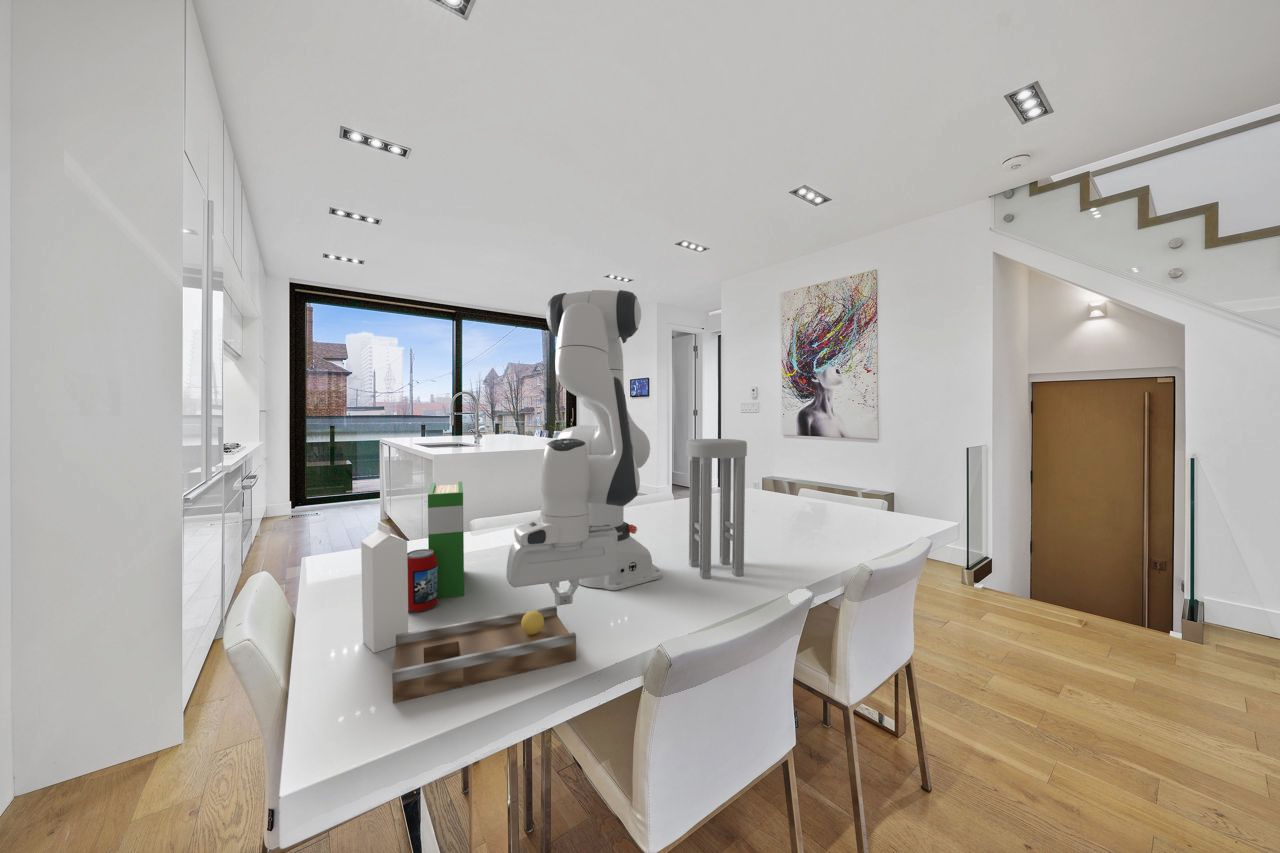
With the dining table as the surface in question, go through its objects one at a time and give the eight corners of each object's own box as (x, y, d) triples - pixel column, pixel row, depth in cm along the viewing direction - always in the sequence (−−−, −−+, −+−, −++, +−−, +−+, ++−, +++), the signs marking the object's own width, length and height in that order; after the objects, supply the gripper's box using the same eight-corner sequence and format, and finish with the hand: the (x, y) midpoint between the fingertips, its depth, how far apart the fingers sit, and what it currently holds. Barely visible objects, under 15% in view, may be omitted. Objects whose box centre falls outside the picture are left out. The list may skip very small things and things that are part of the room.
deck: (555, 628, 93) (555, 605, 93) (576, 660, 81) (576, 634, 81) (396, 660, 81) (395, 634, 81) (392, 703, 69) (392, 673, 69)
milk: (396, 631, 91) (395, 518, 91) (409, 642, 87) (408, 523, 87) (361, 642, 87) (360, 524, 86) (373, 654, 83) (371, 529, 82)
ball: (541, 626, 87) (541, 605, 87) (546, 636, 83) (546, 614, 83) (519, 631, 85) (519, 609, 85) (523, 641, 82) (523, 618, 81)
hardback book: (432, 574, 123) (431, 482, 122) (462, 571, 125) (462, 481, 124) (429, 600, 106) (427, 494, 105) (464, 595, 109) (463, 492, 108)
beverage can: (424, 615, 98) (423, 558, 98) (396, 612, 100) (395, 556, 99) (444, 602, 105) (443, 549, 105) (417, 599, 106) (416, 547, 106)
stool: (697, 582, 118) (698, 442, 116) (679, 562, 133) (680, 438, 132) (754, 577, 121) (756, 442, 120) (731, 559, 136) (732, 438, 135)
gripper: (611, 520, 93) (610, 590, 93) (505, 528, 84) (504, 605, 84) (624, 527, 87) (622, 601, 87) (511, 537, 79) (510, 619, 79)
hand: (563, 603), depth 86 cm, fingers closed
